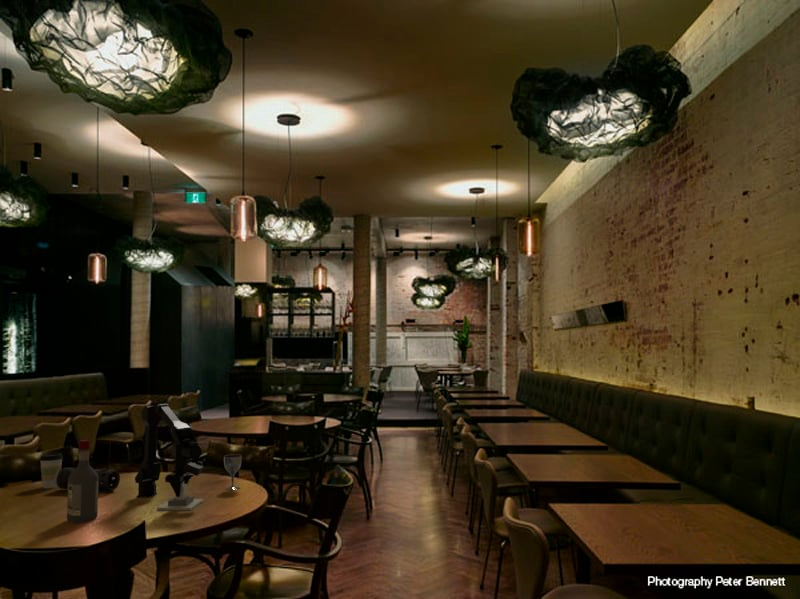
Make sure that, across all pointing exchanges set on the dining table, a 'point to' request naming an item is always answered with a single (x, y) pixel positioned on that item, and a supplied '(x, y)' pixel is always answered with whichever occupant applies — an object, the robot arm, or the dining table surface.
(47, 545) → the dining table surface
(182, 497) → the connector plug
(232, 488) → the wine glass
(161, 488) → the dining table surface
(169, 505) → the end holder
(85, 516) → the liquor
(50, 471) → the coffee cup
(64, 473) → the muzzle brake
